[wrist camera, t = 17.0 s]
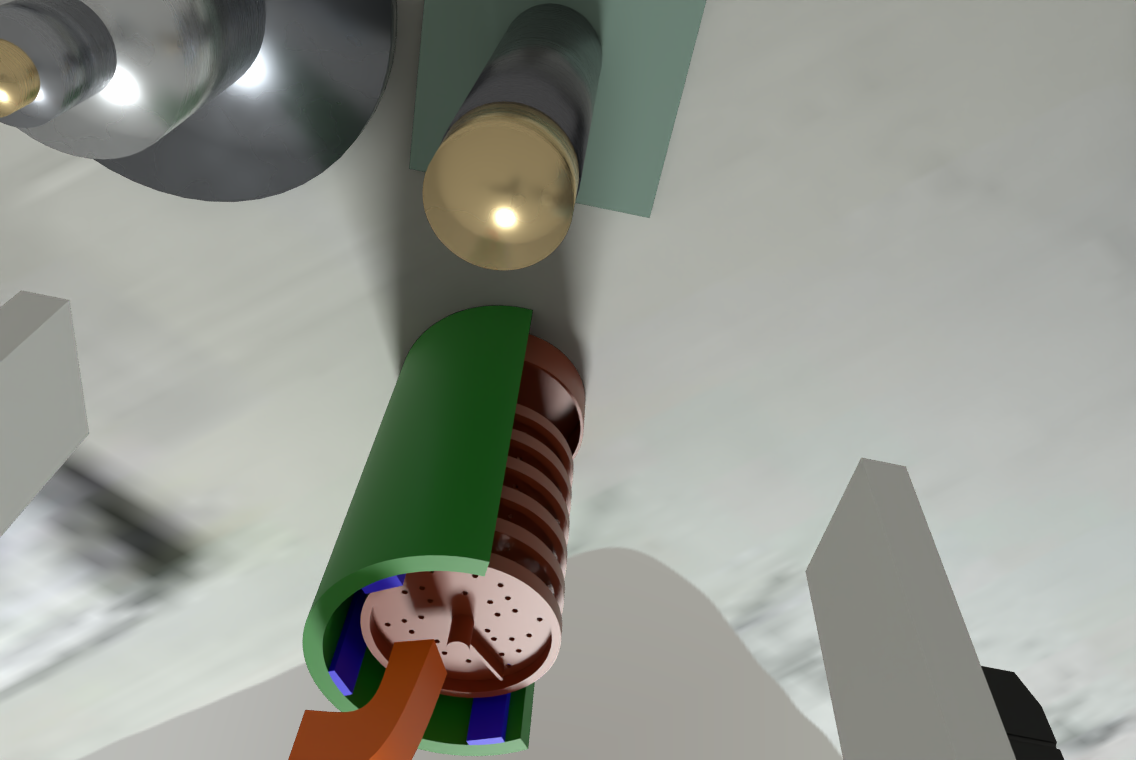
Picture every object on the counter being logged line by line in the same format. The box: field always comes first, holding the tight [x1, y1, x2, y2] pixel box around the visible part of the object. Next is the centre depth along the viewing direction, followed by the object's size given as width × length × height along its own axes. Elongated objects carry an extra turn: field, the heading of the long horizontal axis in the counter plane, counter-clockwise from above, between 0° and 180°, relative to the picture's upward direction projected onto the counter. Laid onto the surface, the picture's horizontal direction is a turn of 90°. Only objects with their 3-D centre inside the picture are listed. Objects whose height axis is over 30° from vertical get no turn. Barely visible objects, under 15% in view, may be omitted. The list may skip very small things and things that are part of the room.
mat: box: [409, 0, 706, 218], centre depth 34 cm, size 10×10×1 cm
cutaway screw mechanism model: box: [288, 306, 585, 760], centre depth 35 cm, size 10×9×20 cm
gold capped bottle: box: [423, 3, 602, 270], centre depth 27 cm, size 4×4×14 cm
